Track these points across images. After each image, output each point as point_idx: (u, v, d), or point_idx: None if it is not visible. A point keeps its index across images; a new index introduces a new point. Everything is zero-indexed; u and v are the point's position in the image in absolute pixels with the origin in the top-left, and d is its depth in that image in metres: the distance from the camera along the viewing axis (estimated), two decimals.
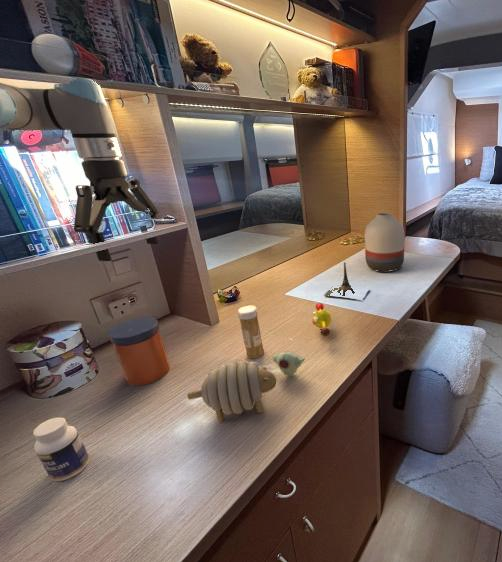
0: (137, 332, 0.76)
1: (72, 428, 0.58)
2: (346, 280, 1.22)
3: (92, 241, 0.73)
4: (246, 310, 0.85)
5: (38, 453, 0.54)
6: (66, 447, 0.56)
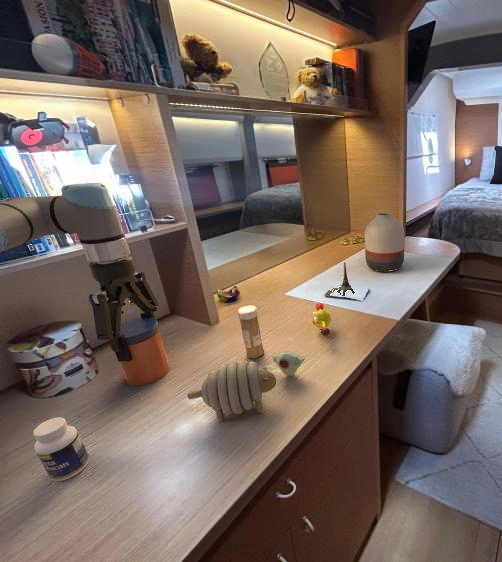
0: (137, 332, 0.76)
1: (72, 428, 0.58)
2: (346, 280, 1.22)
3: None
4: (246, 310, 0.85)
5: (38, 453, 0.54)
6: (66, 447, 0.56)
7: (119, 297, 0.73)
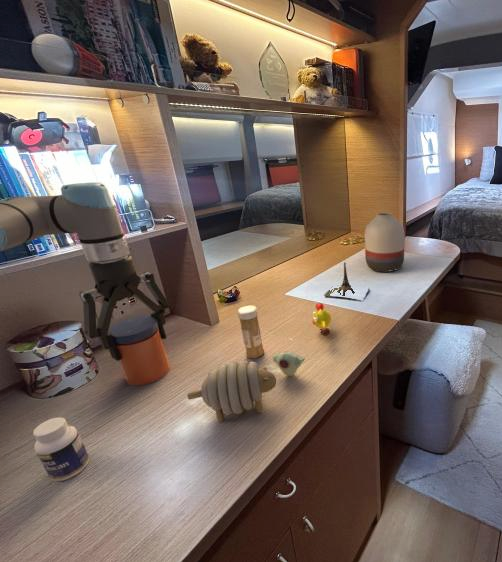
0: (138, 318, 0.82)
1: (72, 428, 0.58)
2: (346, 280, 1.22)
3: (102, 343, 0.74)
4: (246, 310, 0.85)
5: (38, 453, 0.54)
6: (66, 447, 0.56)
7: None
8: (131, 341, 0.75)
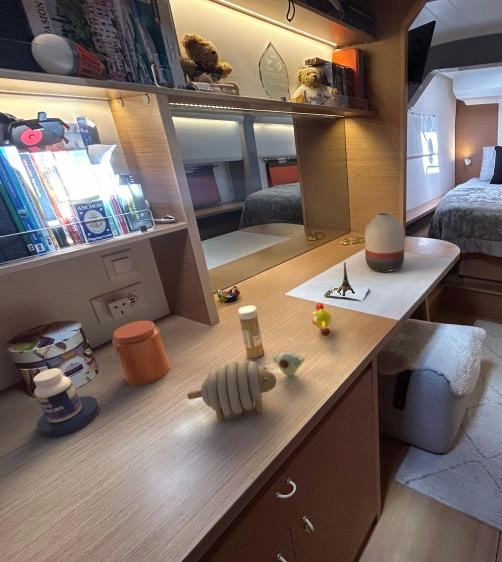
0: None
1: (67, 378, 0.68)
2: (346, 280, 1.22)
3: None
4: (246, 310, 0.85)
5: (37, 396, 0.64)
6: (61, 392, 0.65)
7: None
8: (68, 432, 0.66)
